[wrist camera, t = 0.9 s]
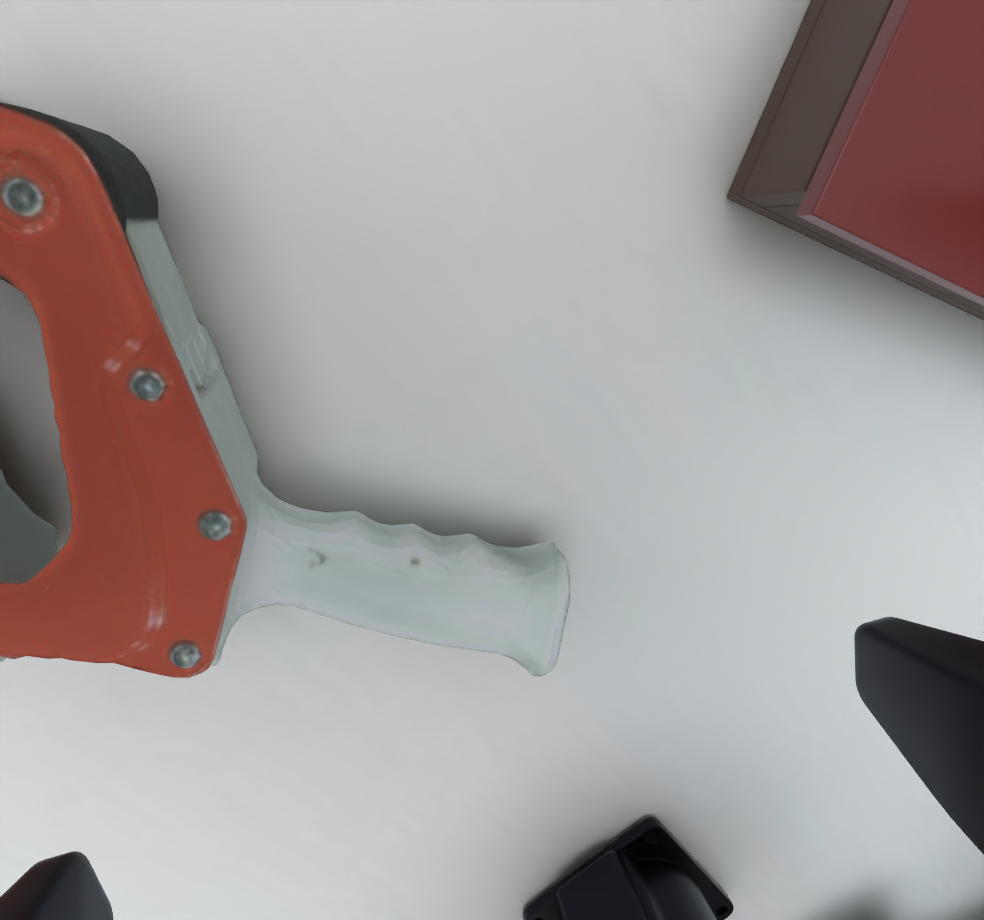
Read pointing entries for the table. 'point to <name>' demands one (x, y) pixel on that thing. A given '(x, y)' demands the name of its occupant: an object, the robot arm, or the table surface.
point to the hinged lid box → (818, 128)
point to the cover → (913, 148)
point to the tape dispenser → (193, 461)
